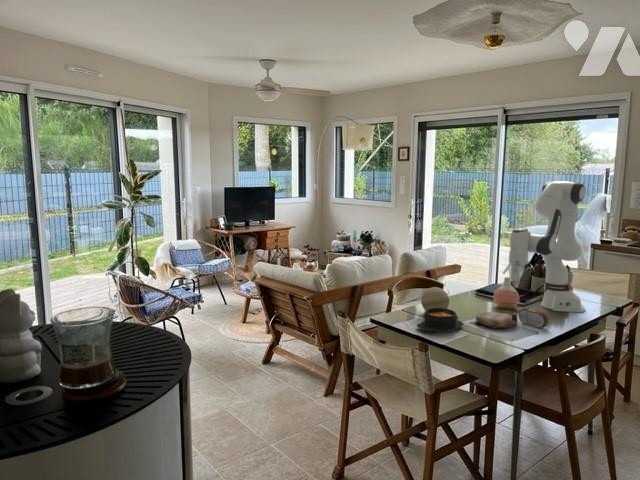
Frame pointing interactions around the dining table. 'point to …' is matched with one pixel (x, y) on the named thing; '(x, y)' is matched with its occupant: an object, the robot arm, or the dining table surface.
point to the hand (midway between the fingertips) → (516, 286)
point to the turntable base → (498, 327)
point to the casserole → (440, 320)
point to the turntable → (497, 319)
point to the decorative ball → (435, 298)
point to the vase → (506, 295)
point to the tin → (533, 318)
